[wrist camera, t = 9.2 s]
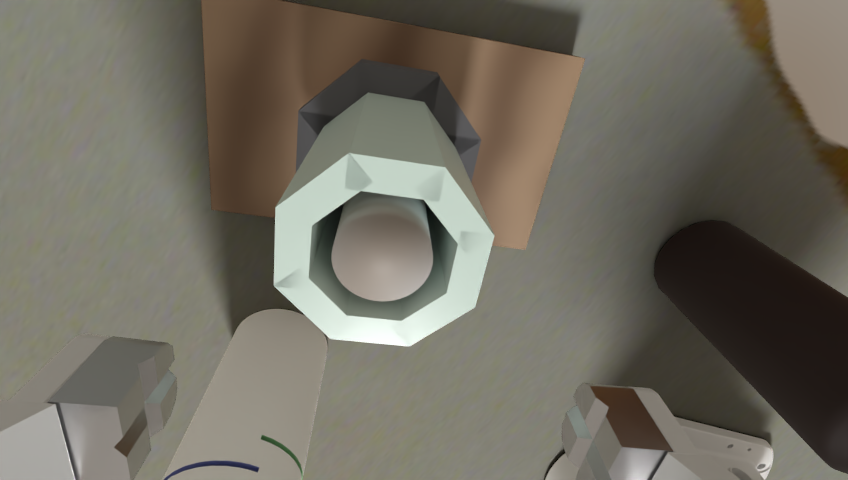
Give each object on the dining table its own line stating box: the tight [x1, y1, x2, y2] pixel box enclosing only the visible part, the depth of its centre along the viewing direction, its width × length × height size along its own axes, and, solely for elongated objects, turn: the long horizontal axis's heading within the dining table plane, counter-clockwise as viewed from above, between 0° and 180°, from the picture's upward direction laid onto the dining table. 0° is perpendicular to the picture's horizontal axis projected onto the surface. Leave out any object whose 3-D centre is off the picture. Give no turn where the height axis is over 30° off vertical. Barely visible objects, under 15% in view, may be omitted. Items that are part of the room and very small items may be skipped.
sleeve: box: [273, 93, 495, 346], centre depth 17 cm, size 6×6×10 cm
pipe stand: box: [201, 0, 585, 301], centre depth 20 cm, size 20×12×16 cm, turn 80°
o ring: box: [296, 59, 481, 182], centre depth 22 cm, size 9×9×2 cm
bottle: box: [654, 221, 848, 474], centre depth 24 cm, size 7×7×20 cm
